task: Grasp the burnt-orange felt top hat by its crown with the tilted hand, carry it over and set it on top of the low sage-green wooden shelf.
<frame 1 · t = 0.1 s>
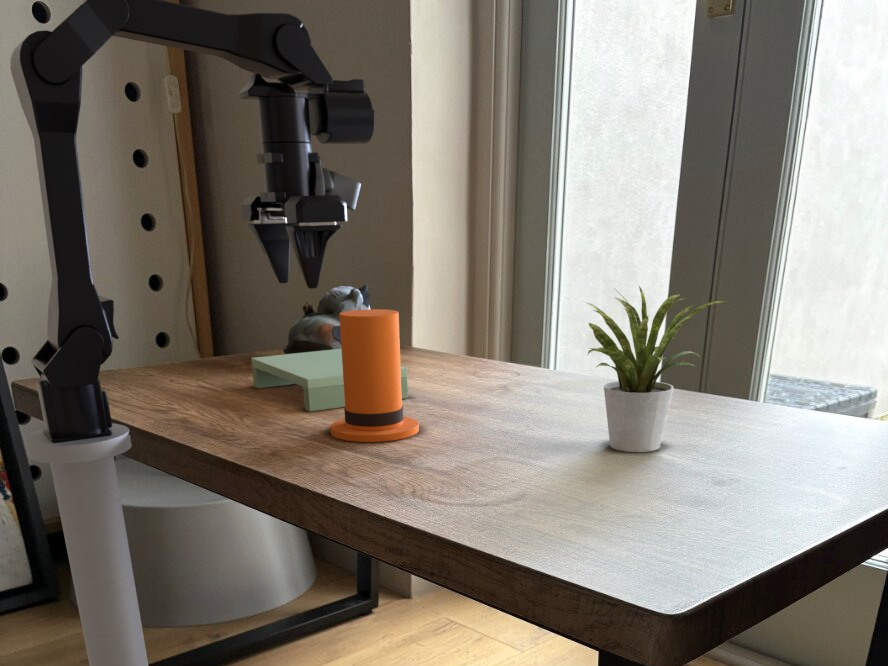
hand: (297, 285, 114), 15 cm above the table, tool pointing down, fingers open, 9 cm apart
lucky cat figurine: (329, 361, 151), on the table
house plant: (646, 446, 98), on the table
shelf: (328, 392, 127), on the table
hat: (374, 431, 106), on the table
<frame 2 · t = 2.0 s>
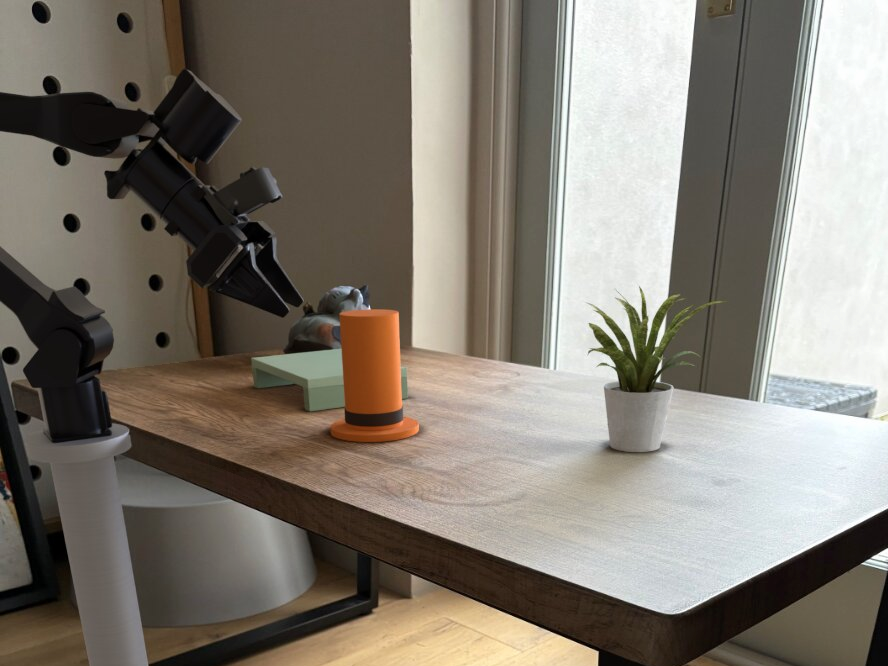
hand: (294, 309, 100), 13 cm above the table, tool tilted 45°, fingers open, 9 cm apart
nothing on the table moved.
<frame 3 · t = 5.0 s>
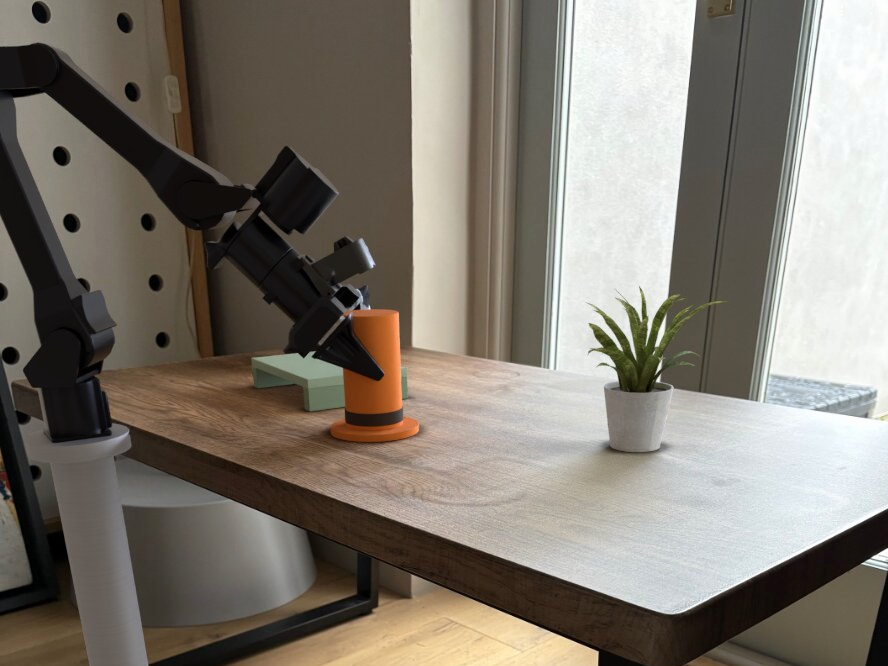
hand: (384, 372, 103), 7 cm above the table, tool tilted 45°, fingers closed on hat, 6 cm apart
hat: (374, 431, 106), on the table, touching gripper
everything else where it was.
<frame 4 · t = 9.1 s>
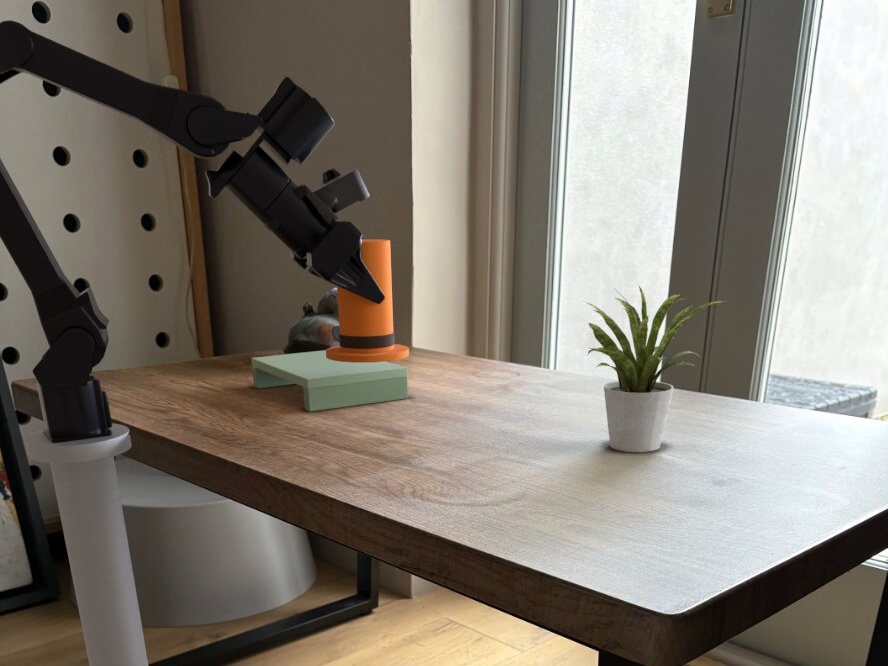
hand: (376, 298, 110), 13 cm above the table, tool tilted 45°, fingers closed on hat, 6 cm apart
hat: (367, 355, 112), point 7 cm above the table, touching gripper
everything else where it was.
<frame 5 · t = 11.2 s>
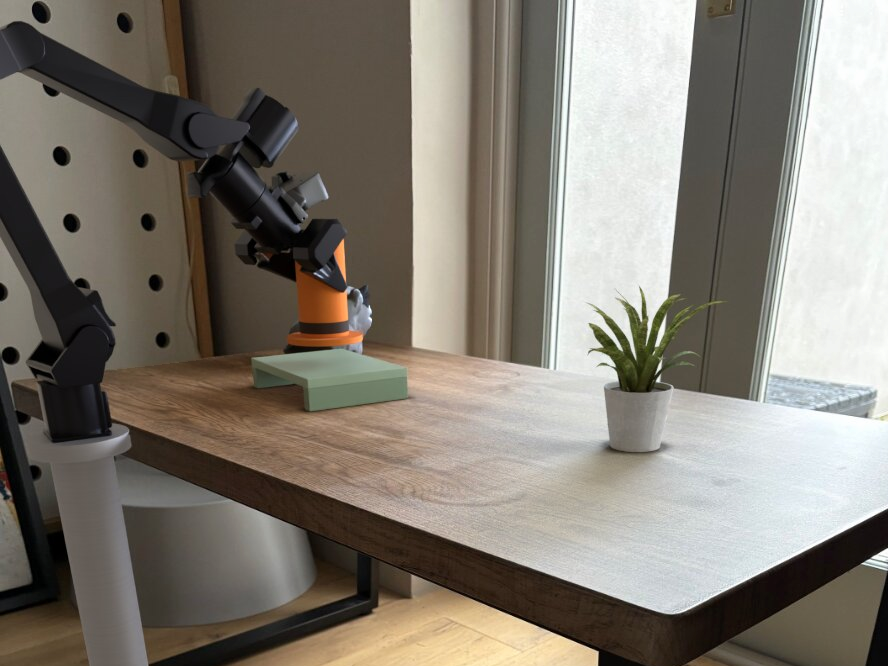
hand: (330, 288, 122), 13 cm above the table, tool tilted 45°, fingers closed on hat, 6 cm apart
hat: (325, 341, 124), point 7 cm above the table, touching gripper
everything else where it was.
when the fingers open (11 cm above the table, at t = 13.1 s): hat stays where it is, resting on shelf.
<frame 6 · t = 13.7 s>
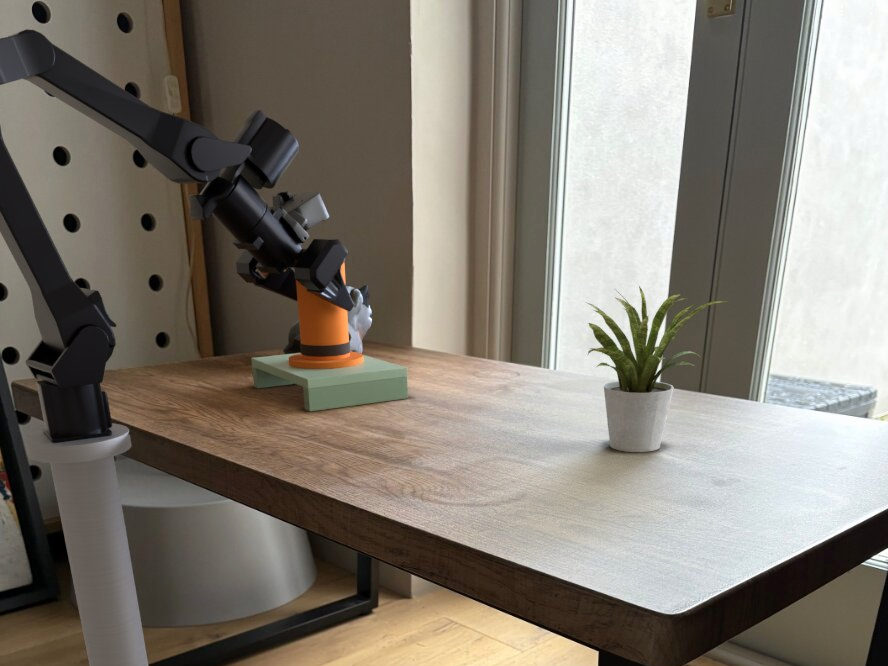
hand: (331, 306, 123), 11 cm above the table, tool tilted 45°, fingers open, 9 cm apart
hat: (326, 362, 125), point 4 cm above the table, touching shelf
everything else where it was.
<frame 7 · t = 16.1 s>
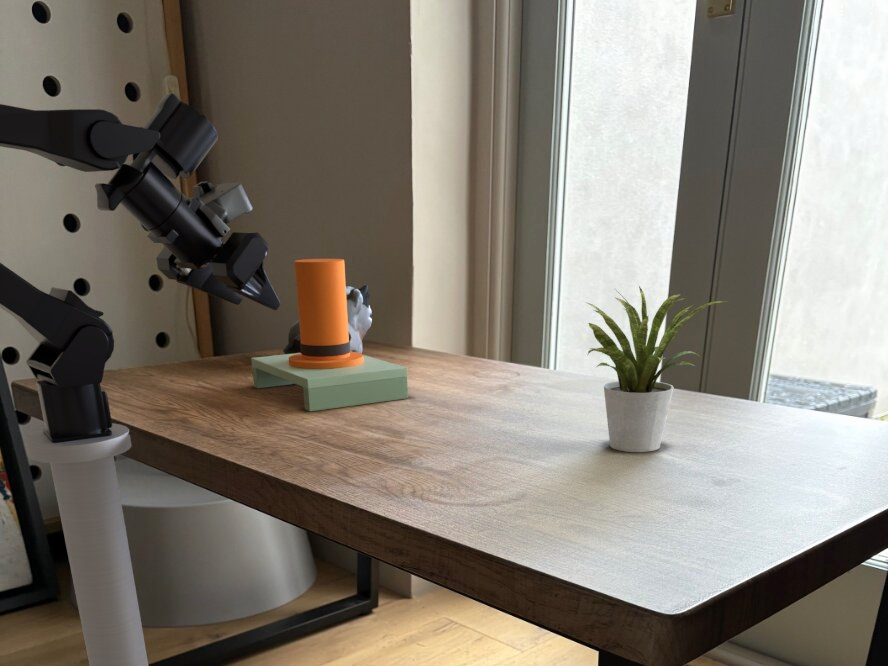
hand: (258, 304, 116), 12 cm above the table, tool tilted 45°, fingers open, 9 cm apart
nothing on the table moved.
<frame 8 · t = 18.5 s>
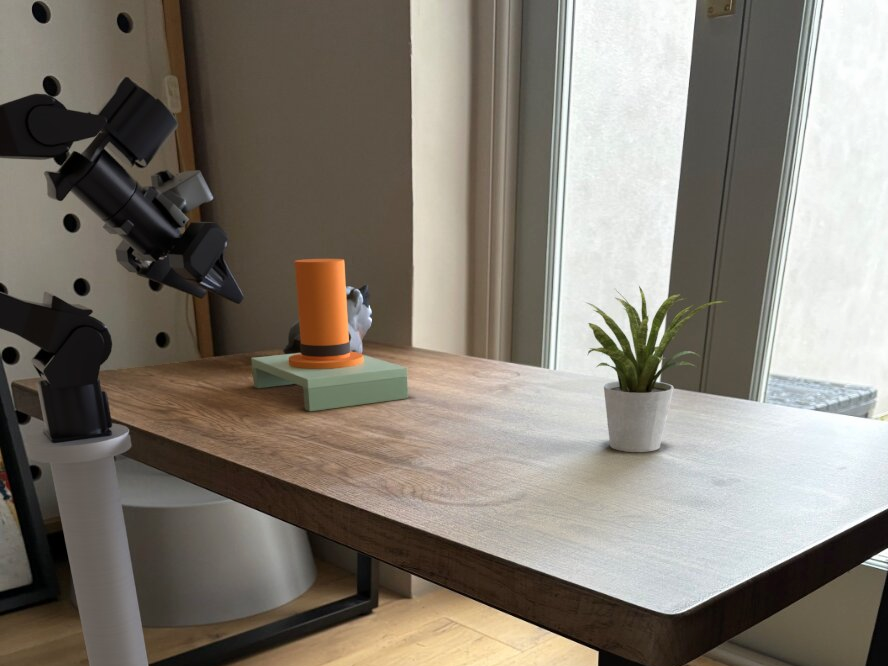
hand: (222, 297, 112), 14 cm above the table, tool tilted 45°, fingers open, 9 cm apart
nothing on the table moved.
at the end: hat inside the target area on the shelf (0.0 cm from its centre), point 4.0 cm above the shelf's base; hat tilted 0°; the gripper is holding nothing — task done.
